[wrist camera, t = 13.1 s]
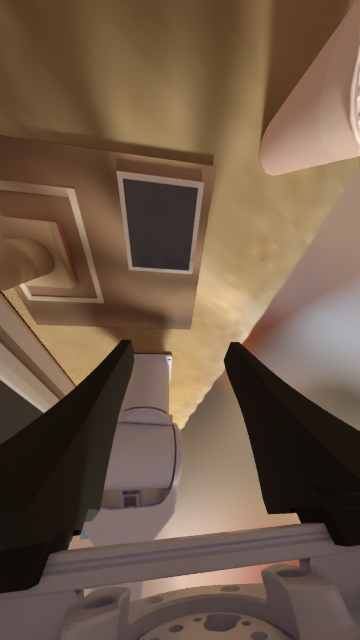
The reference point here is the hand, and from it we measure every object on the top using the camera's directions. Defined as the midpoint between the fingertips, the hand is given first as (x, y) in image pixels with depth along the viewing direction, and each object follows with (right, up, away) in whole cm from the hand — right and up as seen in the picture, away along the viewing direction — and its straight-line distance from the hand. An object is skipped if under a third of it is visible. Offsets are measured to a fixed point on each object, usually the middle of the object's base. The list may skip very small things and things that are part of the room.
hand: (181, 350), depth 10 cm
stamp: (-14, +9, +4) cm, 17 cm away
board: (-9, +9, +6) cm, 14 cm away
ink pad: (-2, +11, +4) cm, 12 cm away
